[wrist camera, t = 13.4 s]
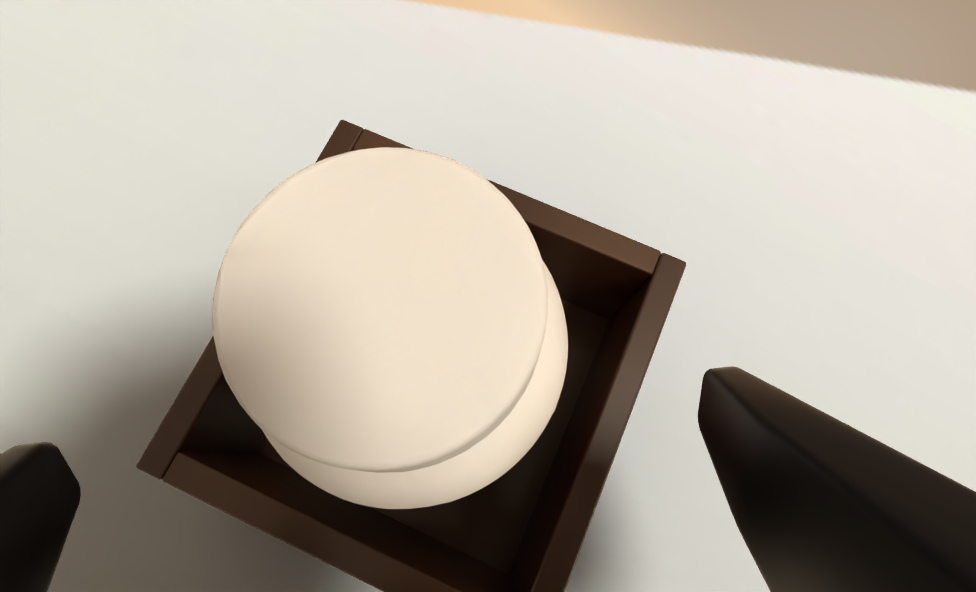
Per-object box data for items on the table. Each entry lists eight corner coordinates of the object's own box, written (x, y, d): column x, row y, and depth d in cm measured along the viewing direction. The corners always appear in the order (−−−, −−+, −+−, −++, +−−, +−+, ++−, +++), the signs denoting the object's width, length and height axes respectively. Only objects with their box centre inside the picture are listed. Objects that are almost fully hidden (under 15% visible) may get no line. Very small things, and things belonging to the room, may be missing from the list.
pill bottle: (559, 331, 19) (660, 171, 8) (498, 517, 18) (527, 613, 7) (385, 271, 20) (272, 48, 9) (311, 448, 18) (64, 434, 7)
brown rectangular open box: (632, 313, 20) (688, 261, 15) (519, 603, 17) (536, 669, 12) (376, 204, 21) (340, 118, 15) (233, 464, 18) (134, 467, 13)
